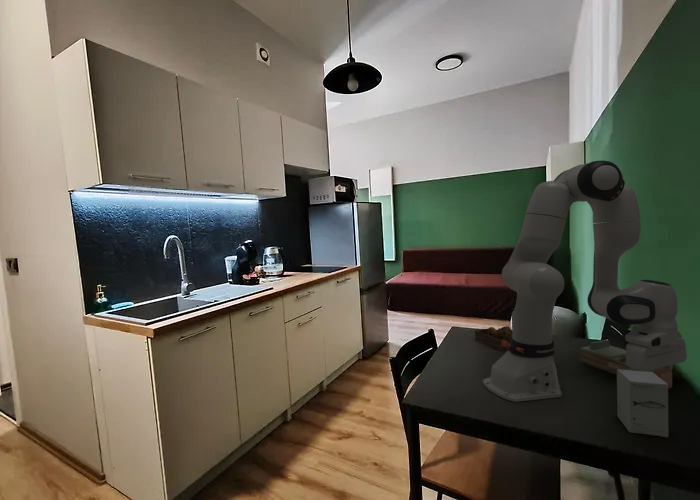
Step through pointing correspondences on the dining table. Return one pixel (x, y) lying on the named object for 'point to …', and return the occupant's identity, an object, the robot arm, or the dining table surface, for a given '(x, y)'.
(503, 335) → the lion figurine
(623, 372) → the supplement box
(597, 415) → the dining table surface
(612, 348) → the cover
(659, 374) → the cube
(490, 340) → the lion stand
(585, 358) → the wooden box
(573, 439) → the dining table surface
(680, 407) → the dining table surface
